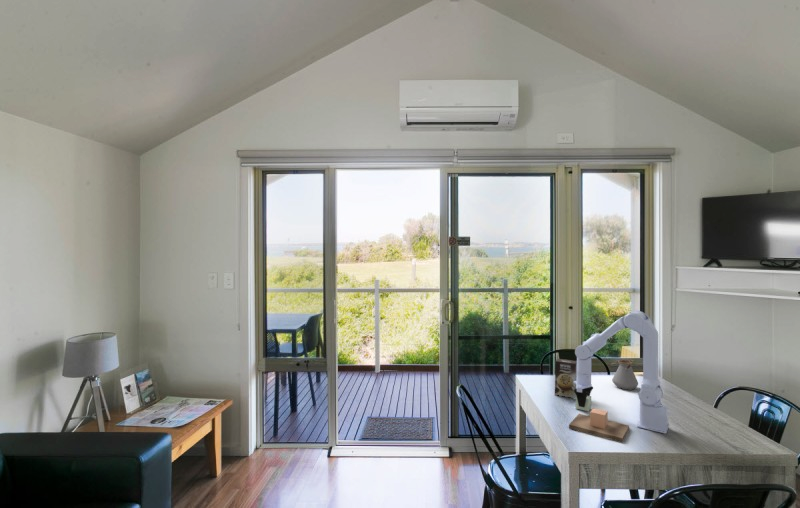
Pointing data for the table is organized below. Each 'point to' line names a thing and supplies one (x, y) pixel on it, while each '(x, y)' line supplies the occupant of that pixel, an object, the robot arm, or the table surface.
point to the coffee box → (565, 377)
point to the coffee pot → (625, 376)
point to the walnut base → (610, 432)
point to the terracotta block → (598, 418)
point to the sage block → (587, 404)
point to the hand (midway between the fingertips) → (583, 404)
